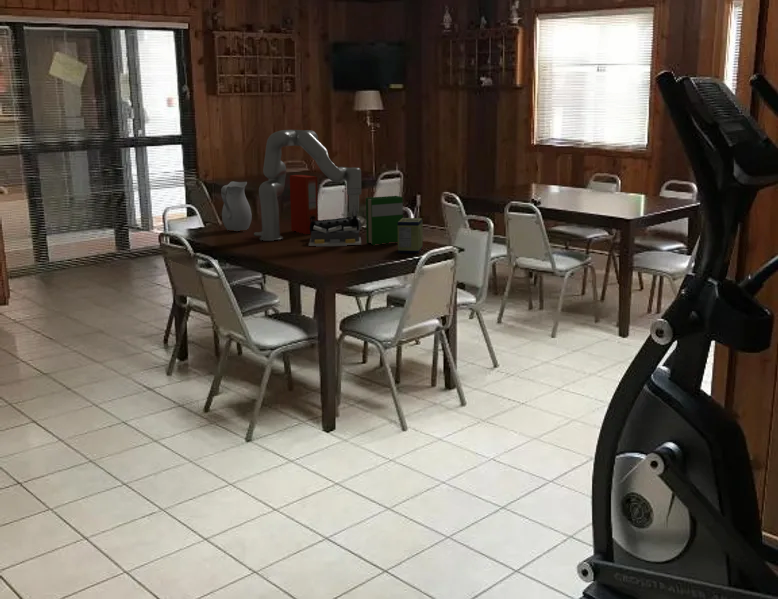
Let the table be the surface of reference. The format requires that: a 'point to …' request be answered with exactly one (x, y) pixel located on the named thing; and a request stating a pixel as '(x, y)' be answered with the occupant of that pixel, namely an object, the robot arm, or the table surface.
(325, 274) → the table surface
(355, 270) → the table surface
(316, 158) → the robot arm
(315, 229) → the switch left
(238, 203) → the pitcher
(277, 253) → the table surface
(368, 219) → the hardback book
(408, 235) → the protein box
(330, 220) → the muzzle brake
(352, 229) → the switch right
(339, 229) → the switch middle
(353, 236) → the panel
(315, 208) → the file binder
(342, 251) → the table surface
